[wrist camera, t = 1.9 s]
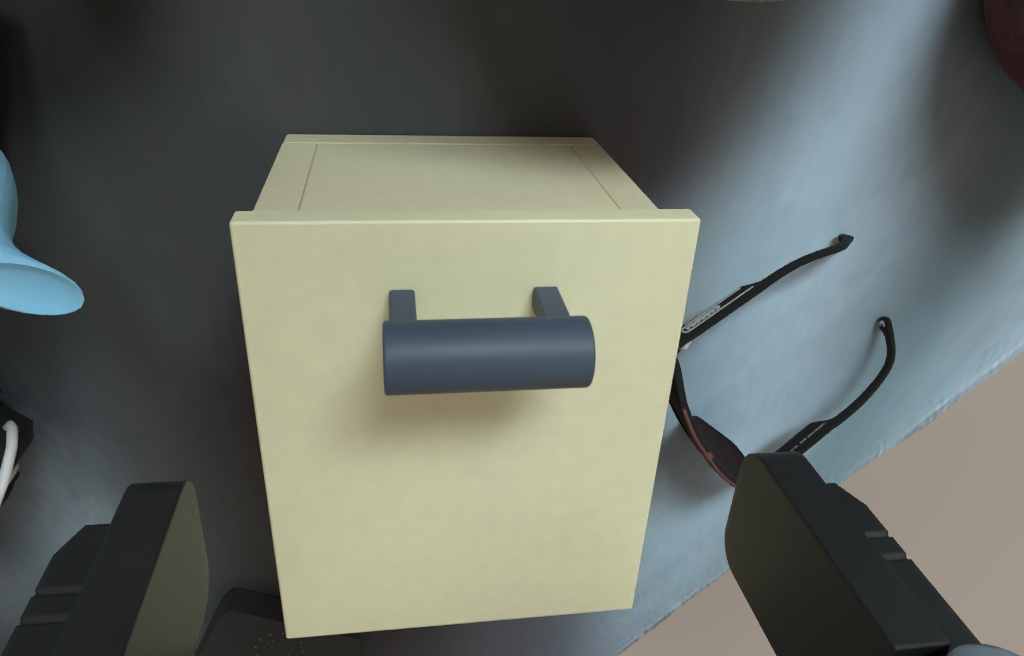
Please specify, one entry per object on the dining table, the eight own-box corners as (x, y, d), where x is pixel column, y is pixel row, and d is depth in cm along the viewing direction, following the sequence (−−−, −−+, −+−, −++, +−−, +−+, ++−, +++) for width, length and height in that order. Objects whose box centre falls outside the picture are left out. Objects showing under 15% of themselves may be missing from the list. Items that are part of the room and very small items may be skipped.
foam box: (285, 133, 30) (238, 241, 20) (593, 136, 32) (685, 236, 22) (314, 431, 37) (289, 618, 27) (565, 419, 39) (625, 589, 29)
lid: (234, 210, 20) (193, 291, 16) (690, 208, 22) (764, 280, 18) (288, 618, 27) (271, 749, 23) (625, 590, 29) (667, 706, 25)
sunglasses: (610, 336, 37) (653, 384, 32) (811, 186, 36) (882, 215, 32) (703, 466, 42) (751, 523, 37) (880, 336, 41) (950, 379, 37)
